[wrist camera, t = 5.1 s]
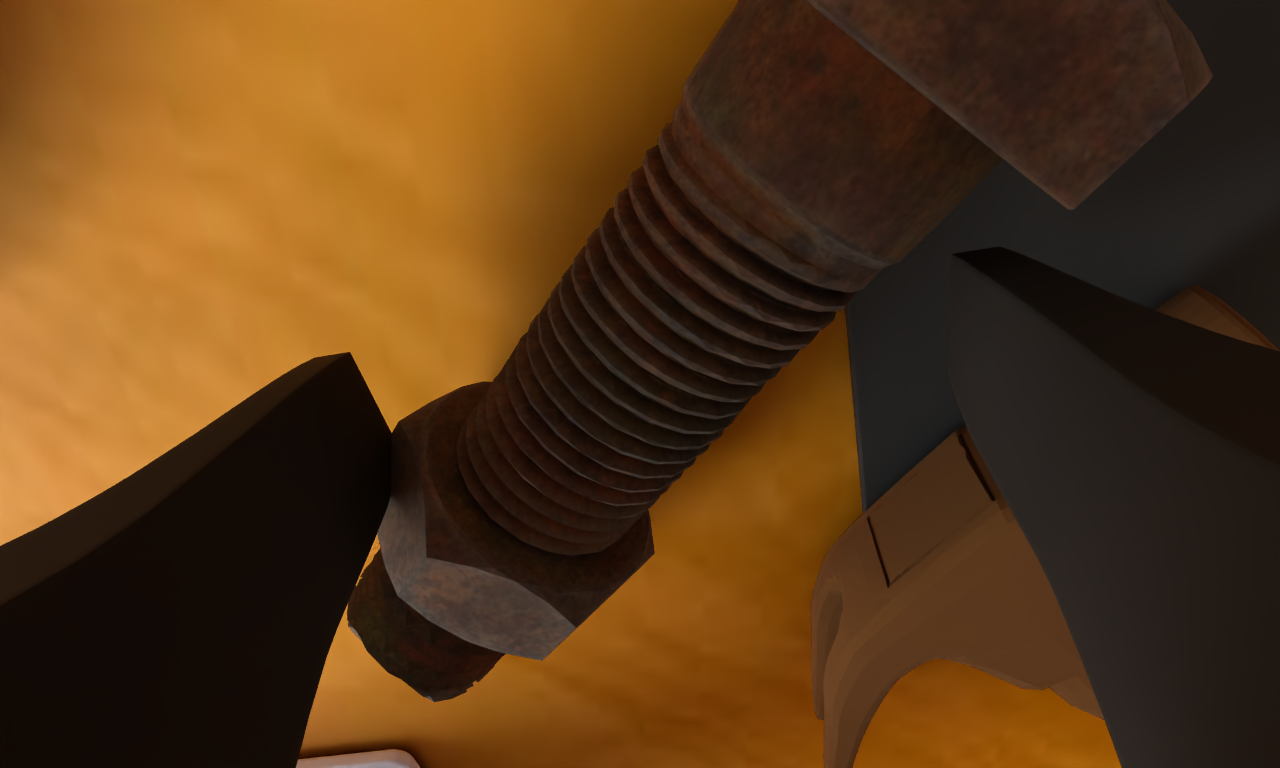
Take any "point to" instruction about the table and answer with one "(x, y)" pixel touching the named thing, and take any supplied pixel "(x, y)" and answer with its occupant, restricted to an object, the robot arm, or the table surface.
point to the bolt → (733, 287)
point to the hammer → (949, 582)
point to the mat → (1092, 239)
